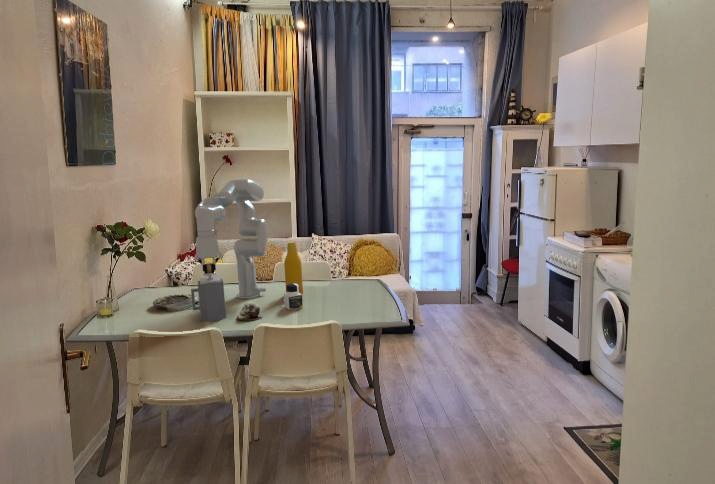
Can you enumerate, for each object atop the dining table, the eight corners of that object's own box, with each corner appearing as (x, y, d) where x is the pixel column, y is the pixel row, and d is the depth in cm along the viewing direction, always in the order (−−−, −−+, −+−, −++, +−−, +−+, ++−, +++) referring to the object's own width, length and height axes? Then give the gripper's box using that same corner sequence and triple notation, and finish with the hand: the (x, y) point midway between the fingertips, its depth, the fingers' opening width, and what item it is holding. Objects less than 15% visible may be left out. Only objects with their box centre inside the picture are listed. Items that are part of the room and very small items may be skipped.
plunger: (221, 307, 268) (217, 261, 264) (222, 312, 260) (218, 264, 256) (203, 309, 265) (199, 262, 261) (203, 314, 257) (199, 266, 253)
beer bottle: (298, 297, 293) (295, 244, 288) (283, 296, 296) (279, 243, 291) (306, 293, 302) (303, 241, 297) (290, 292, 305) (287, 240, 300)
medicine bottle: (289, 310, 270) (288, 286, 268) (284, 307, 276) (283, 283, 274) (303, 308, 273) (301, 284, 271) (297, 304, 280) (296, 281, 278)
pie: (166, 318, 267) (165, 308, 267) (135, 310, 284) (134, 301, 283) (213, 303, 289) (212, 294, 288) (182, 297, 306) (181, 288, 305)
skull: (240, 321, 252) (235, 302, 257) (238, 331, 260) (232, 312, 265) (266, 316, 257) (260, 297, 262) (262, 326, 265) (256, 307, 270)
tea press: (225, 313, 270) (221, 275, 267) (226, 319, 259) (223, 280, 256) (193, 316, 266) (190, 278, 263) (193, 323, 255) (190, 283, 252)
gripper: (223, 231, 262) (226, 269, 265) (187, 234, 257) (191, 272, 260) (224, 233, 255) (227, 272, 258) (187, 236, 250) (191, 275, 253)
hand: (209, 272), depth 259 cm, fingers closed on plunger, 3 cm apart
